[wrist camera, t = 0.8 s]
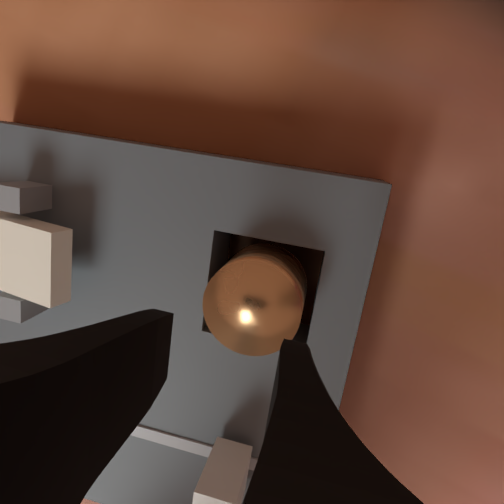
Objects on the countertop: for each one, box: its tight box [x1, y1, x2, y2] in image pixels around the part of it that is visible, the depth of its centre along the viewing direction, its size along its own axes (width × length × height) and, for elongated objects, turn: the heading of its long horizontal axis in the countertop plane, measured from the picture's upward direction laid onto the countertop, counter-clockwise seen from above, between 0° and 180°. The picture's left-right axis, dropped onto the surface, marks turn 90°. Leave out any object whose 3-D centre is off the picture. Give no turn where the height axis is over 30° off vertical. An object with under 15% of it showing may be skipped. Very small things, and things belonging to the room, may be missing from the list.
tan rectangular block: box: [192, 437, 253, 504], centre depth 16 cm, size 2×2×3 cm
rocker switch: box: [0, 211, 73, 308], centre depth 16 cm, size 3×5×1 cm, turn 82°
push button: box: [202, 243, 307, 356], centre depth 15 cm, size 4×4×3 cm
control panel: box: [0, 121, 392, 504], centre depth 18 cm, size 18×18×5 cm
